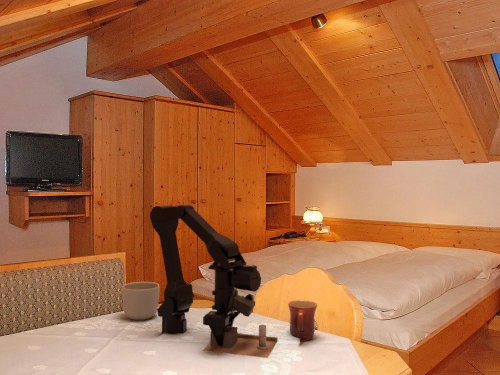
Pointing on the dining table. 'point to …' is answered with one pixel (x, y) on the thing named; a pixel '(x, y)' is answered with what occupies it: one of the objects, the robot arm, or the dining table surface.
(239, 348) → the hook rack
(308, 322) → the mug
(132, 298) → the planter
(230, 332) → the gray square frame
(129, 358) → the dining table surface
